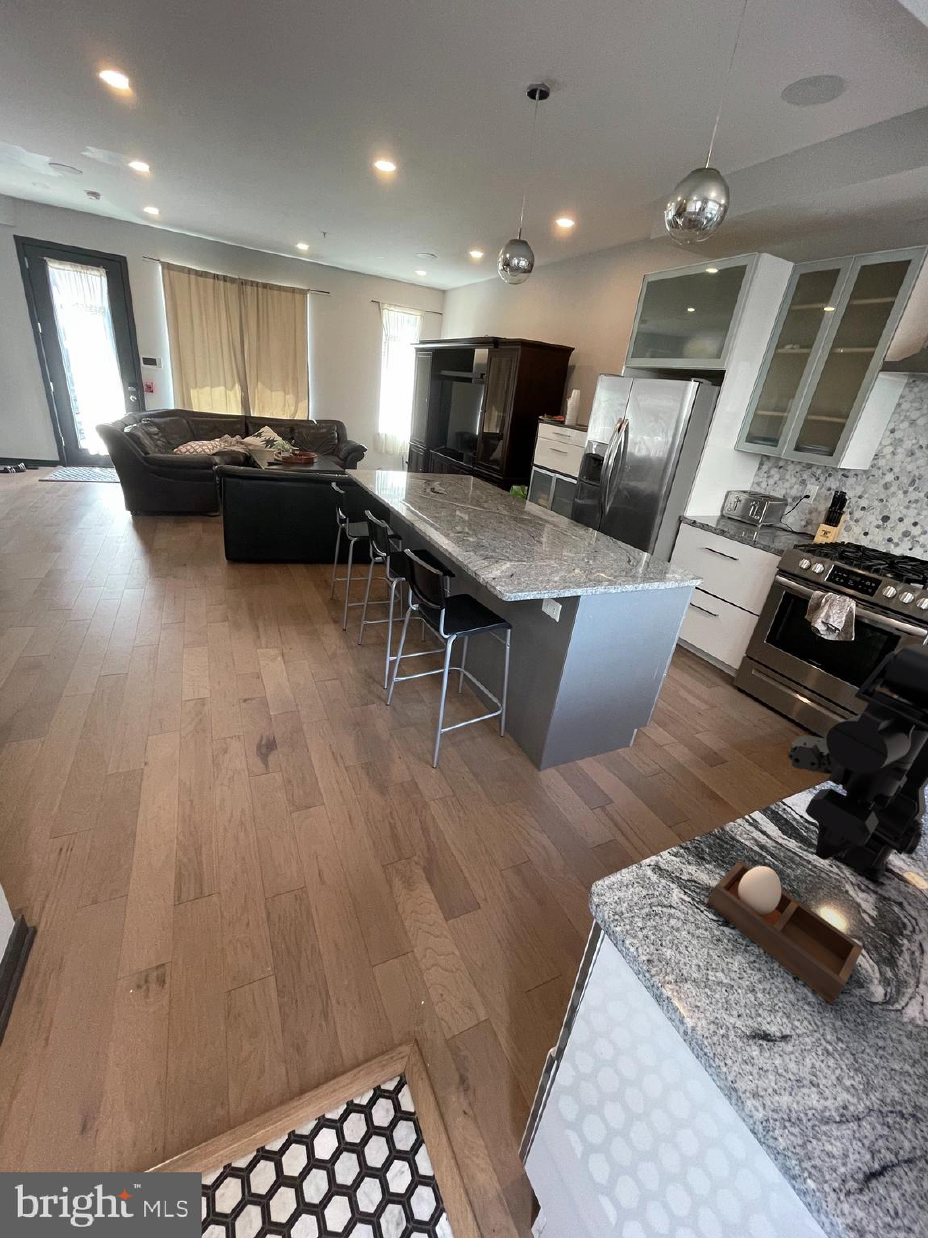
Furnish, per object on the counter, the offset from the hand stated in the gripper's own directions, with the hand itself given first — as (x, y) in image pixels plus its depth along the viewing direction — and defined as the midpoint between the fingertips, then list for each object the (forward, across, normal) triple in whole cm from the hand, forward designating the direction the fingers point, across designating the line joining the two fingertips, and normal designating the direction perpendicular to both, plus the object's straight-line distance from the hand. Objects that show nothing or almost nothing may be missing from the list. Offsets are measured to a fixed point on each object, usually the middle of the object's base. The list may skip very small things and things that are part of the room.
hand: (831, 841), depth 68 cm
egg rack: (+11, +9, 0) cm, 14 cm away
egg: (+11, +9, -4) cm, 14 cm away
